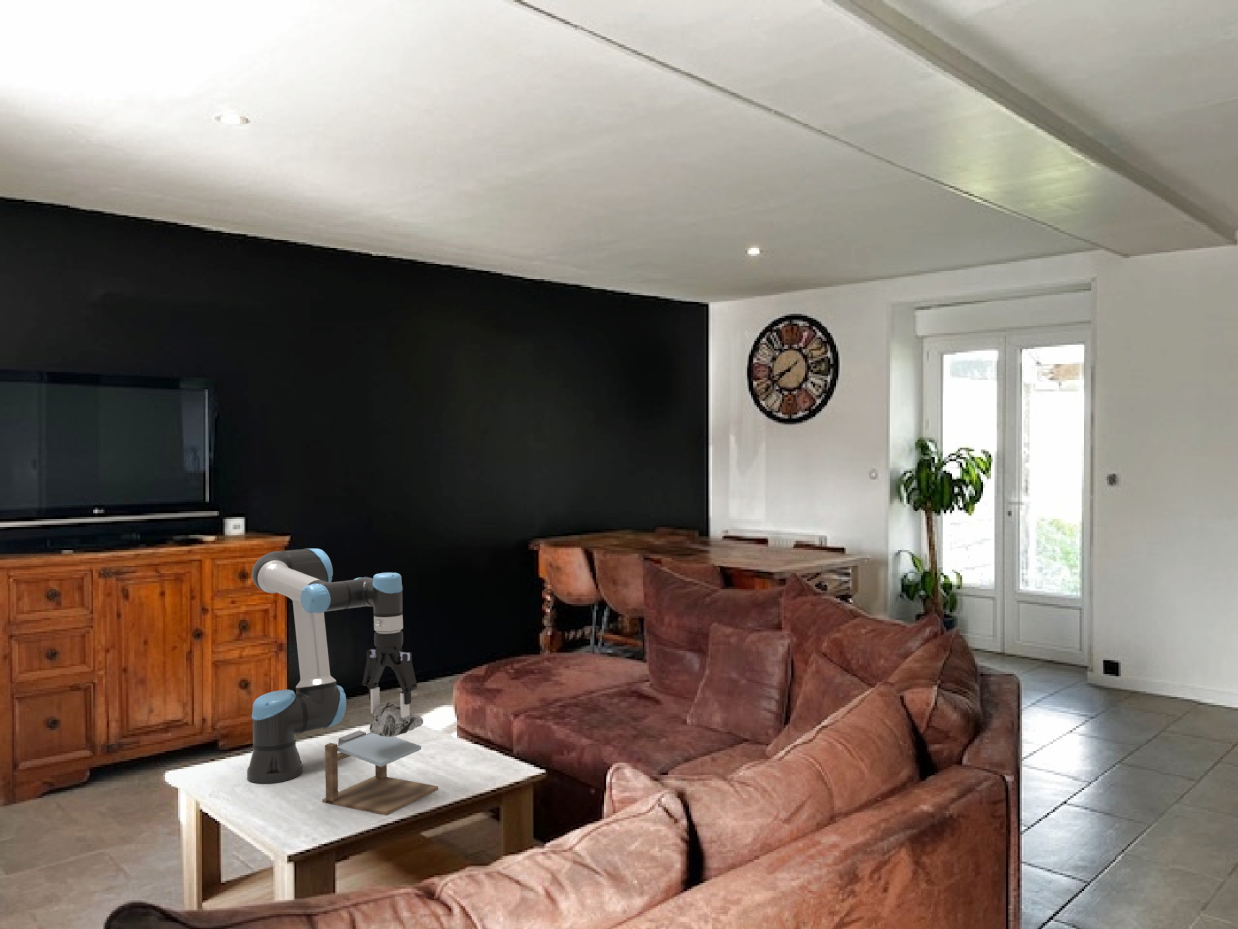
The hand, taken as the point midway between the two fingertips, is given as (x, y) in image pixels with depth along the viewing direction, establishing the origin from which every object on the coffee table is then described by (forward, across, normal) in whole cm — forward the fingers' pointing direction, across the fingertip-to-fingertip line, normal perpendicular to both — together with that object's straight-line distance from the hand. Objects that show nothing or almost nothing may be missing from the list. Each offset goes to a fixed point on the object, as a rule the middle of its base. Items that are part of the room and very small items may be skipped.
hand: (390, 714), depth 250 cm
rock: (+5, 0, +2) cm, 5 cm away
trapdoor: (+10, -6, 0) cm, 12 cm away
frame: (+22, -4, 0) cm, 23 cm away
